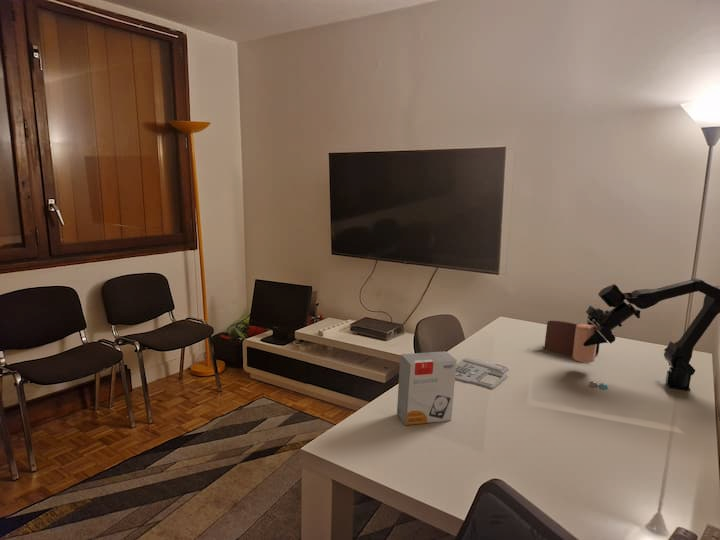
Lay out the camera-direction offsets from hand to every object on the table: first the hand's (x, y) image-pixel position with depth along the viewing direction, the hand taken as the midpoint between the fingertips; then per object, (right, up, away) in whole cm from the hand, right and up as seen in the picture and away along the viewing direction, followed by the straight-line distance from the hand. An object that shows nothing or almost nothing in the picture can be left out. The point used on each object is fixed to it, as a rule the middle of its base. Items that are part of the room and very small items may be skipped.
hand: (581, 341), depth 178 cm
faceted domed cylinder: (+1, -7, +1) cm, 7 cm away
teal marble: (+2, -15, -11) cm, 18 cm away
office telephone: (-38, -13, +3) cm, 40 cm away
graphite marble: (-1, -14, -10) cm, 17 cm away
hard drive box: (-64, -19, -32) cm, 74 cm away
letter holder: (+8, -9, +27) cm, 30 cm away
